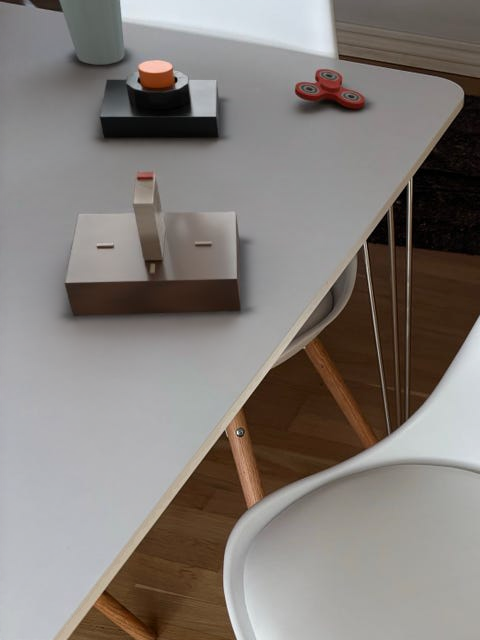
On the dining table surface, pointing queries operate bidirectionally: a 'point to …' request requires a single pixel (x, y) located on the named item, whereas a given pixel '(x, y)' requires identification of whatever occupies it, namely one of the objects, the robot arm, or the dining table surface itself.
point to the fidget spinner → (329, 90)
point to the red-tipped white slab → (149, 216)
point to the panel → (154, 265)
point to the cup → (95, 29)
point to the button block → (160, 109)
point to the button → (156, 74)
